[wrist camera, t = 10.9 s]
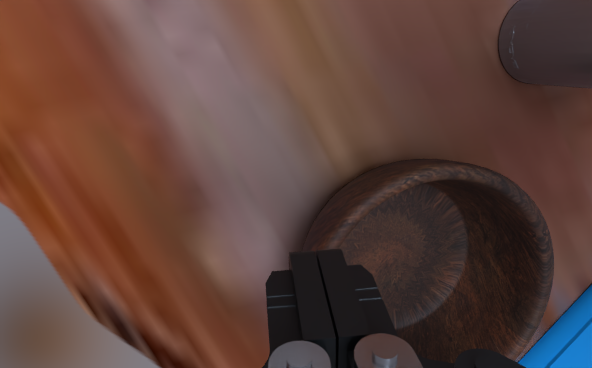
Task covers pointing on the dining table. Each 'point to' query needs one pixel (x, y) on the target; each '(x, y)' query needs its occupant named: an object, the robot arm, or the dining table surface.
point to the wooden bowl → (445, 253)
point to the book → (566, 339)
